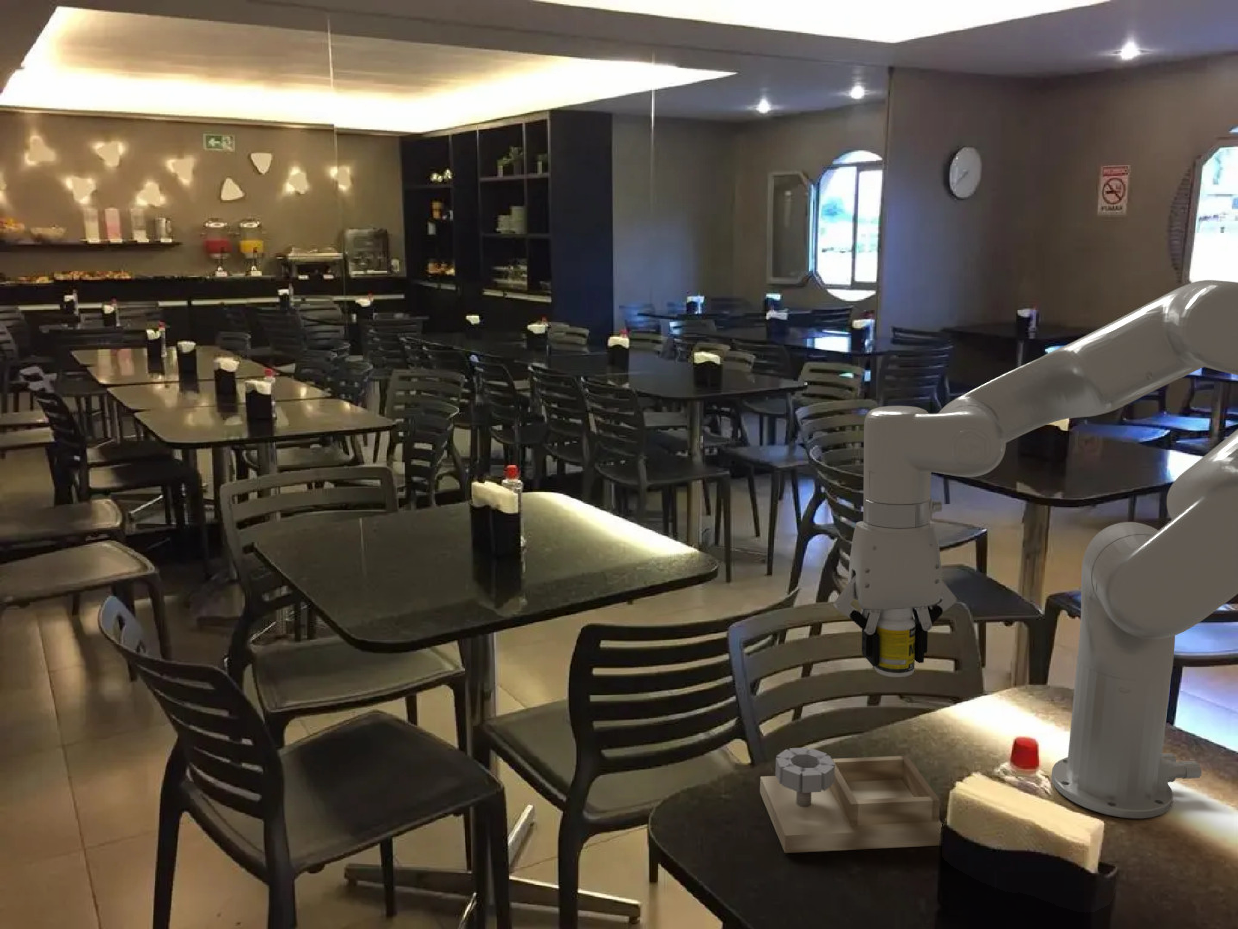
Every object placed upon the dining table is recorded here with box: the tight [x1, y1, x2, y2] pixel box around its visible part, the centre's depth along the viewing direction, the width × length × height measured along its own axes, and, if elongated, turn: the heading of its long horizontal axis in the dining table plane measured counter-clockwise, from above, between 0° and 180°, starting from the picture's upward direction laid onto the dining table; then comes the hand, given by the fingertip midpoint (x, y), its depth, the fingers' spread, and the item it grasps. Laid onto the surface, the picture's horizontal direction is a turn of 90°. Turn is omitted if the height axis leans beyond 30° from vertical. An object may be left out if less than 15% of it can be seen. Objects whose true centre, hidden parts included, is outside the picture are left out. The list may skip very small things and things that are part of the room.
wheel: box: [774, 747, 835, 793], centre depth 108 cm, size 6×6×2 cm
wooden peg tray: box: [759, 755, 943, 854], centre depth 109 cm, size 17×12×6 cm
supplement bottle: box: [873, 608, 916, 678], centre depth 118 cm, size 5×5×8 cm
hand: (894, 658), depth 119 cm, fingers closed on supplement bottle, 4 cm apart
